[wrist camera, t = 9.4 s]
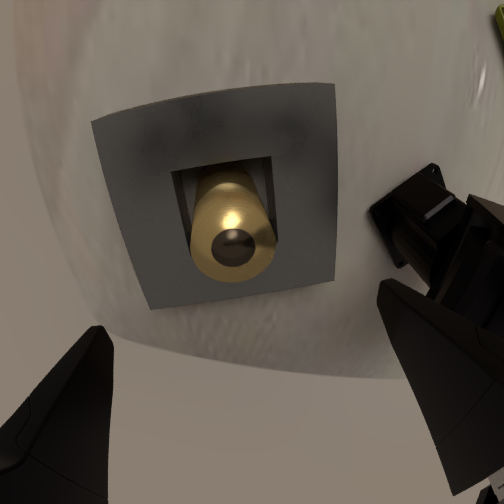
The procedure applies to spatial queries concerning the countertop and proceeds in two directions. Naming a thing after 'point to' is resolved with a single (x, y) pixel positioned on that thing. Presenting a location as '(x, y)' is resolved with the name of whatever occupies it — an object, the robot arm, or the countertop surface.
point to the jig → (218, 151)
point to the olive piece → (500, 19)
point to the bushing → (230, 225)
